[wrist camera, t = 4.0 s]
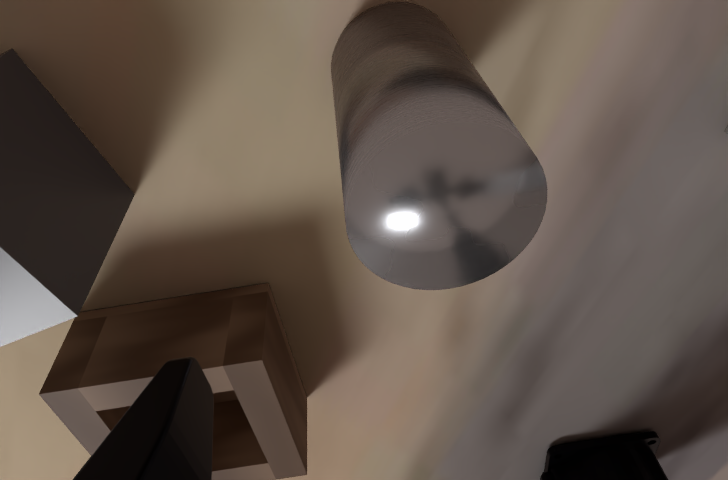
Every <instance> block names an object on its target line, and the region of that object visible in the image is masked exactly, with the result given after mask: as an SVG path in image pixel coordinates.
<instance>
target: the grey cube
mask: <svg viewBox="0 0 728 480" xmlns="http://www.w3.org/2000/svg"><path fill="white" fill-rule="evenodd" d="M134 195H135V194H134V193H133V192H132V191H131V190H130V189H129V187H128V186H127V185H126V184H125V183H124V181H123V180H122V179H121V178H120V177H119V175H118V174H117V173H116V172H115V171H114V169H113V168H112V167H111V166H110V165H109V163H108V162H107V161H106V160H105V159H104V158H103V156H102V155H101V154H100V153H99V152H98V150H97V149H96V148H95V147H94V146H93V144H92V143H91V142H90V141H89V140H88V138H87V137H86V136H85V135H84V134H83V132H82V131H81V130H80V129H79V128H78V126H77V125H76V124H75V123H74V122H73V121H72V119H71V118H70V117H69V116H68V115H67V113H66V112H65V111H64V110H63V109H62V107H61V106H60V105H59V104H58V103H57V101H56V100H55V99H54V98H53V97H52V95H51V94H50V93H49V92H48V91H47V90H46V88H45V87H44V86H43V85H42V84H41V82H40V81H39V80H38V79H37V78H36V76H35V75H34V74H33V73H32V72H31V70H30V69H29V68H28V67H27V66H26V64H25V63H24V62H23V61H22V60H21V58H20V57H19V56H18V55H17V54H16V53H15V51H14V50H13V49H10V50H8V51H6V52H4V53H2V54H1V55H0V347H1V346H3V345H6V344H8V343H11V342H14V341H16V340H19V339H21V338H24V337H26V336H29V335H31V334H34V333H37V332H39V331H42V330H44V329H47V328H49V327H52V326H54V325H57V324H59V323H62V322H65V321H67V320H70V319H72V318H75V317H77V316H78V315H79V313H80V310H81V308H82V306H83V304H84V302H85V300H86V298H87V295H88V293H89V291H90V289H91V287H92V285H93V283H94V280H95V278H96V276H97V274H98V272H99V270H100V268H101V266H102V263H103V261H104V259H105V257H106V255H107V253H108V251H109V248H110V246H111V244H112V242H113V240H114V238H115V236H116V233H117V231H118V229H119V227H120V225H121V223H122V221H123V218H124V216H125V214H126V212H127V210H128V208H129V206H130V204H131V201H132V199H133V197H134Z"/></svg>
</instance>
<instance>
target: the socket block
mask: <svg viewBox="0 0 728 480" xmlns="http://www.w3.org/2000/svg"><path fill="white" fill-rule="evenodd" d="M184 357H194V358H195V359H197V361H198V362H199V364H200V366H201V368H202V370H203V372H204V374H205V376H206V378H207V380H208V382H209V384H210V386H211V388H212V392H213V398H214V412H213V448H212V480H275V479H282V478H289V477H295V476H302V475H307V397H306V394H305V391H304V388H303V385H302V382H301V379H300V376H299V373H298V370H297V367H296V364H295V361H294V358H293V355H292V352H291V349H290V346H289V343H288V340H287V337H286V334H285V331H284V328H283V325H282V322H281V319H280V316H279V313H278V310H277V307H276V304H275V301H274V298H273V295H272V292H271V289H270V286H269V283H265V284H259V285H252V286H246V287H240V288H233V289H227V290H220V291H214V292H207V293H201V294H195V295H188V296H182V297H175V298H169V299H163V300H156V301H150V302H143V303H137V304H130V305H124V306H118V307H111V308H105V309H98V310H92V311H86V312H80V313H79V315H78V316H77V317H75V319H74V321H73V323H72V325H71V327H70V329H69V332H68V334H67V336H66V338H65V340H64V342H63V344H62V346H61V349H60V351H59V353H58V355H57V357H56V359H55V361H54V363H53V366H52V368H51V370H50V372H49V374H48V376H47V378H46V380H45V382H44V385H43V387H42V389H41V391H40V393H39V395H40V396H41V397H42V399H43V400H44V401H45V402H46V403H47V404H48V406H49V407H50V408H51V409H52V410H53V411H54V413H55V414H56V415H57V416H58V417H59V418H60V420H61V421H62V422H63V423H64V424H65V425H66V427H67V428H68V429H69V430H70V431H71V433H72V434H73V435H74V436H75V437H76V438H77V440H78V441H79V442H80V443H81V444H82V445H83V447H84V448H85V449H86V450H87V451H88V452H89V454H90V455H91V456H92V455H93V453H94V452H95V451H96V449H97V448H98V447H99V446H100V444H101V443H102V442H103V441H104V439H105V438H106V437H107V436H108V434H109V433H110V432H111V430H112V429H113V428H114V427H115V425H116V424H117V423H118V422H119V420H120V419H121V418H122V417H123V415H124V414H125V413H126V411H127V410H128V409H129V408H130V406H131V405H132V404H133V403H134V401H135V400H136V399H137V398H138V396H139V395H140V394H141V392H142V391H143V390H144V389H145V387H146V386H147V385H148V384H149V382H150V381H151V380H152V379H153V377H154V376H155V375H156V374H157V372H158V371H159V370H160V368H161V367H162V366H163V365H164V364H165V363H166V362H167V361H169V360H172V359H177V358H184Z"/></svg>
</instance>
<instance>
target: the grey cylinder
mask: <svg viewBox="0 0 728 480" xmlns="http://www.w3.org/2000/svg"><path fill="white" fill-rule="evenodd" d="M331 76H332V86H333V97H334V107H335V117H336V128H337V138H338V148H339V159H340V169H341V179H342V190H343V200H344V210H345V221H346V230H347V235H348V238H349V242H350V244H351V246H352V248H353V250H354V252H355V253H356V255H357V256H358V258H359V259H360V260H361V262H362V263H363V264H364V265H365V266H366V267H367V268H368V269H370V270H371V271H372V272H373V273H375V274H376V275H378V276H379V277H381V278H383V279H385V280H387V281H389V282H391V283H394V284H397V285H400V286H403V287H408V288H413V289H422V290H441V289H450V288H455V287H460V286H464V285H467V284H470V283H473V282H476V281H478V280H481V279H483V278H486V277H487V276H489V275H491V274H493V273H495V272H497V271H498V270H500V269H501V268H503V267H504V266H506V265H507V264H508V263H510V262H511V261H512V260H513V259H515V258H516V257H517V256H518V255H519V254H520V253H521V252H522V251H523V250H524V249H525V247H526V246H527V245H528V244H529V243H530V241H531V240H532V238H533V237H534V235H535V234H536V232H537V230H538V228H539V226H540V224H541V222H542V219H543V216H544V213H545V209H546V203H547V184H546V178H545V175H544V172H543V169H542V166H541V165H540V163H539V161H538V159H537V157H536V156H535V154H534V153H533V151H532V150H531V149H530V147H529V146H528V144H527V143H526V141H525V140H524V138H523V137H522V135H521V134H520V133H519V131H518V130H517V128H516V127H515V125H514V124H513V122H512V121H511V119H510V118H509V117H508V115H507V114H506V112H505V111H504V109H503V108H502V106H501V105H500V103H499V102H498V101H497V99H496V98H495V96H494V95H493V93H492V92H491V90H490V89H489V87H488V86H487V85H486V83H485V82H484V80H483V79H482V77H481V76H480V74H479V73H478V71H477V70H476V69H475V67H474V66H473V64H472V63H471V61H470V60H469V58H468V57H467V56H466V54H465V53H464V51H463V50H462V48H461V47H460V45H459V44H458V42H457V41H456V40H455V38H454V37H453V35H452V34H451V32H450V31H449V29H448V28H447V27H446V25H445V24H444V23H443V21H442V20H441V19H439V18H438V17H437V16H436V15H435V14H434V13H432V12H431V11H429V10H427V9H425V8H423V7H421V6H418V5H415V4H411V3H406V2H392V3H385V4H381V5H378V6H375V7H372V8H370V9H368V10H366V11H365V12H363V13H361V14H360V15H359V16H357V17H356V18H355V19H354V20H353V21H352V22H351V23H350V24H349V25H348V26H347V27H346V28H345V30H344V31H343V32H342V34H341V36H340V37H339V39H338V41H337V43H336V46H335V48H334V52H333V55H332V62H331Z"/></svg>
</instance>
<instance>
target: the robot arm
mask: <svg viewBox="0 0 728 480" xmlns="http://www.w3.org/2000/svg"><path fill="white" fill-rule="evenodd" d="M213 412H214V398H213V392H212V388H211V386H210V384H209V382H208V380H207V378H206V376H205V374H204V372H203V370H202V368H201V366H200V364H199V362H198V361H197V359H195V358H194V357H184V358H177V359H172V360H169V361H167V362H166V363H165V364H164V365H163V366H162V367H161V368H160V370H159V371H158V372H157V374H156V375H155V376H154V377H153V379H152V380H151V381H150V382H149V384H148V385H147V386H146V387H145V389H144V390H143V391H142V392H141V394H140V395H139V396H138V398H137V399H136V400H135V401H134V403H133V404H132V405H131V406H130V408H129V409H128V410H127V411H126V413H125V414H124V415H123V417H122V418H121V419H120V420H119V422H118V423H117V424H116V425H115V427H114V428H113V429H112V430H111V432H110V433H109V434H108V436H107V437H106V438H105V439H104V441H103V442H102V443H101V444H100V446H99V447H98V448H97V449H96V451H95V452H94V453H93V455H92V456H91V457H90V458H89V460H88V461H87V462H86V463H85V465H84V466H83V467H82V468H81V470H80V471H79V472H78V474H77V475H76V476H75V477H74V479H73V480H212V448H213ZM659 443H660V438H659V436H658V435H657V433H656V432H644V433H637V434H631V435H624V436H617V437H611V438H604V439H597V440H591V441H584V442H577V443H571V444H564V445H557V446H553V447H551V448H549V449H548V451H547V456H546V463H545V469H544V472H543V473H542V475H541V478H540V480H668V478H667V477H666V475H665V473H664V471H663V469H662V468H661V466H660V464H659V462H658V460H657V459H656V457H655V453H656V451H657V448H658V446H659Z"/></svg>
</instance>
